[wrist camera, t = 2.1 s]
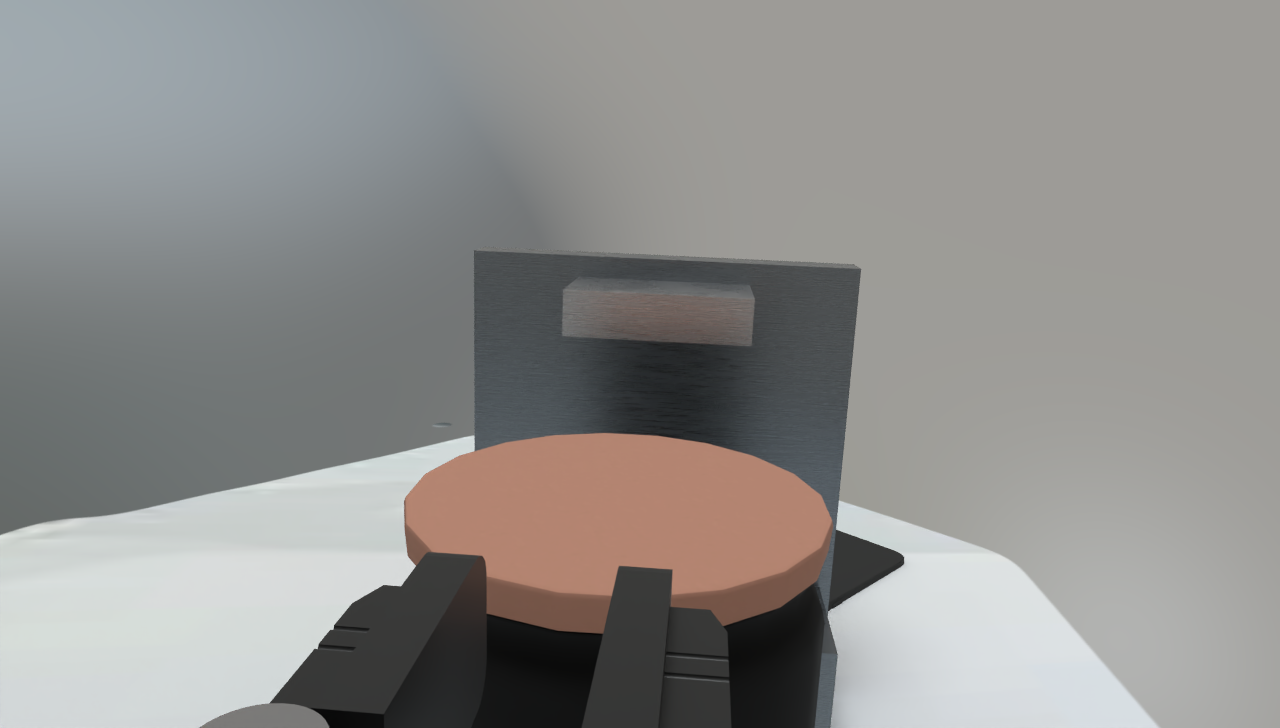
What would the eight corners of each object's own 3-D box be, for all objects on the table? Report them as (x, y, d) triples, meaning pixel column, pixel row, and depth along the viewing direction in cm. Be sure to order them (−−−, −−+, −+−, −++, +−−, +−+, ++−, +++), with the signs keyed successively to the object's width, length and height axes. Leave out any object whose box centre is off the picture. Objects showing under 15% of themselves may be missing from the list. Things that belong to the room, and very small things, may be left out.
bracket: (836, 776, 38) (887, 285, 33) (440, 742, 40) (434, 263, 35) (814, 674, 46) (853, 264, 41) (484, 648, 47) (484, 246, 42)
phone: (911, 556, 60) (787, 627, 50) (910, 567, 60) (786, 640, 50) (821, 524, 65) (691, 582, 55) (820, 534, 66) (690, 594, 55)
